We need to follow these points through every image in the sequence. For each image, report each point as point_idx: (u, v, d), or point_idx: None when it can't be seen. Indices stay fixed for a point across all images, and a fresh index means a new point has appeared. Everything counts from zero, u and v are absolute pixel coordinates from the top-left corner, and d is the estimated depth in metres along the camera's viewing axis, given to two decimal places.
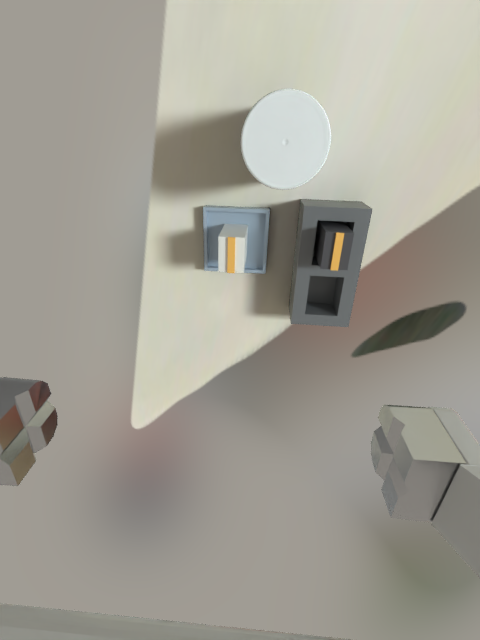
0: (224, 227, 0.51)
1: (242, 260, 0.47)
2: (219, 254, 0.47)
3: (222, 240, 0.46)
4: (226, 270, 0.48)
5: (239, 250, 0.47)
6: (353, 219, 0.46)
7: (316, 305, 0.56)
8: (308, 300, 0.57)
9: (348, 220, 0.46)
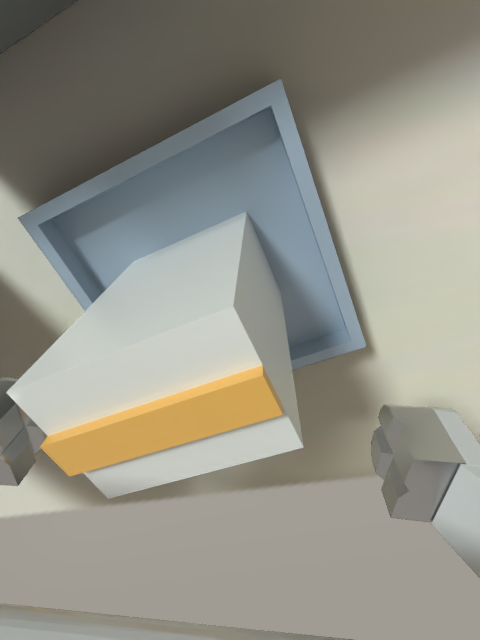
0: None
1: (148, 351, 0.06)
2: (196, 470, 0.08)
3: (113, 479, 0.08)
4: None
5: (99, 391, 0.07)
6: None
7: None
8: None
9: None
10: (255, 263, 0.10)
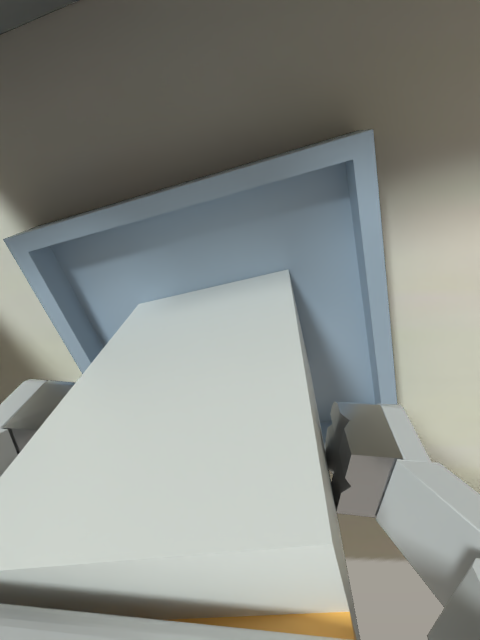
0: None
1: (167, 569, 0.04)
2: None
3: None
4: None
5: (74, 598, 0.04)
6: None
7: None
8: None
9: None
10: (305, 357, 0.08)
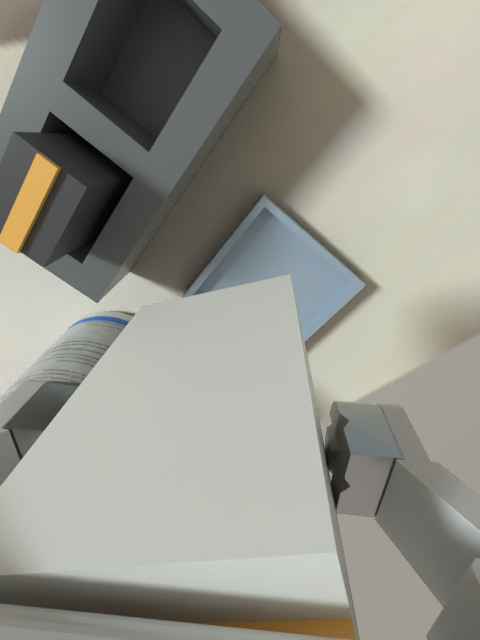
0: None
1: (172, 575, 0.04)
2: None
3: None
4: None
5: (79, 603, 0.04)
6: None
7: (195, 15, 0.18)
8: None
9: None
10: (307, 363, 0.08)
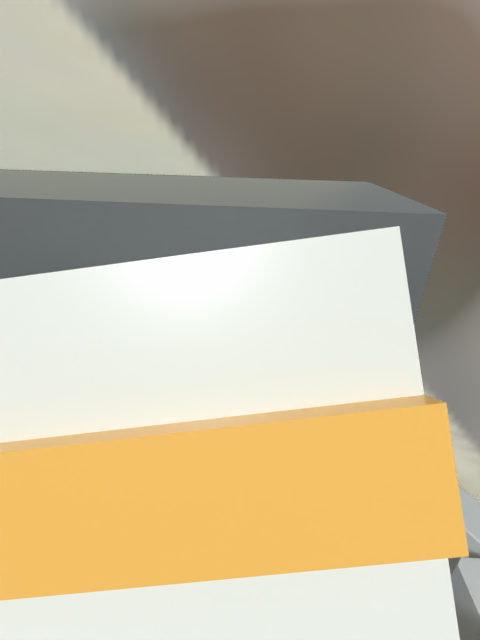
0: None
1: (173, 286, 0.03)
2: None
3: None
4: (418, 561, 0.02)
5: (7, 365, 0.03)
6: None
7: None
8: None
9: None
10: None
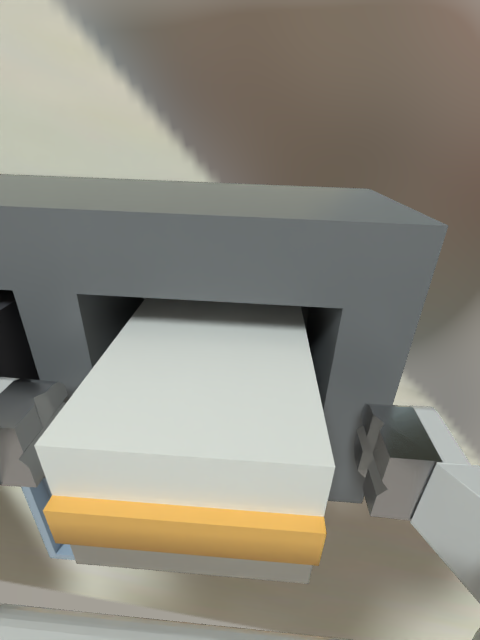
0: None
1: (223, 468, 0.06)
2: (190, 569, 0.07)
3: (96, 551, 0.07)
4: None
5: (144, 481, 0.06)
6: None
7: (310, 335, 0.12)
8: None
9: None
10: None
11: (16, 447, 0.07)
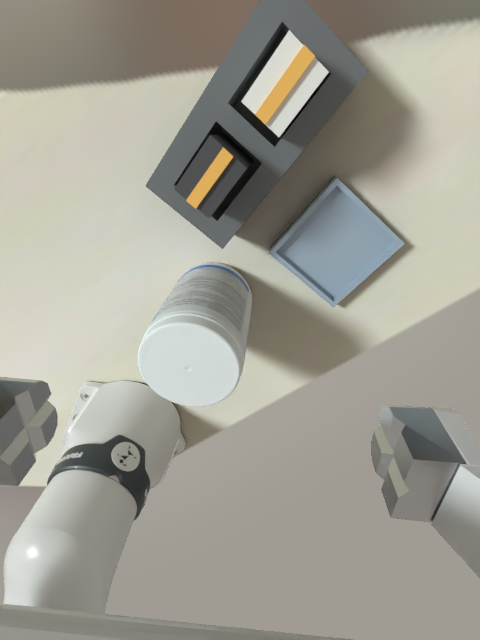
0: None
1: (273, 60, 0.23)
2: (301, 104, 0.24)
3: (278, 125, 0.25)
4: (313, 62, 0.23)
5: (265, 84, 0.24)
6: (173, 189, 0.31)
7: None
8: None
9: None
10: None
11: None
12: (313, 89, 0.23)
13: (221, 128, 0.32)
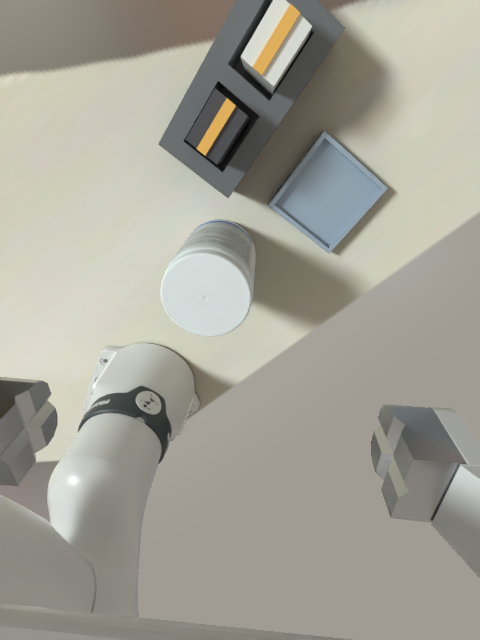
0: (270, 92, 0.34)
1: (265, 18, 0.28)
2: (291, 56, 0.29)
3: (272, 75, 0.29)
4: (299, 18, 0.27)
5: (259, 40, 0.28)
6: (183, 145, 0.36)
7: None
8: None
9: (189, 148, 0.36)
10: None
11: None
12: (300, 42, 0.28)
13: (221, 92, 0.37)
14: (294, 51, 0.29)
